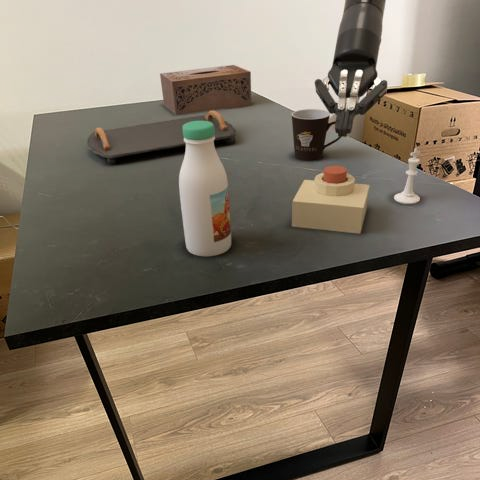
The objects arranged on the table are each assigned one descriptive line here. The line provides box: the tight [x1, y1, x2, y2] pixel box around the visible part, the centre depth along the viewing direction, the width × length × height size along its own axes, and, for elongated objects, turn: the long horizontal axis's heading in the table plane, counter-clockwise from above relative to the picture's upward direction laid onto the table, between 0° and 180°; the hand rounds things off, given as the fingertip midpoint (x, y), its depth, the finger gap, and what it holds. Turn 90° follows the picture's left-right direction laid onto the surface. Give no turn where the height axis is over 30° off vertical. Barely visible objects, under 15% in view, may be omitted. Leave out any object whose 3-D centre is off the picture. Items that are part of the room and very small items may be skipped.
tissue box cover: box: [159, 64, 252, 116], centre depth 153 cm, size 26×14×10 cm, turn 112°
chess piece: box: [393, 148, 421, 205], centre depth 88 cm, size 5×5×10 cm
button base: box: [291, 172, 370, 235], centre depth 84 cm, size 12×10×7 cm
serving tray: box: [86, 110, 237, 166], centre depth 123 cm, size 39×23×6 cm, turn 114°
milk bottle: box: [178, 121, 232, 257], centre depth 73 cm, size 8×8×20 cm
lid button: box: [323, 165, 348, 184], centre depth 83 cm, size 4×4×2 cm
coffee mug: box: [291, 108, 342, 162], centre depth 108 cm, size 12×9×10 cm
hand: (342, 134), depth 81 cm, fingers closed
